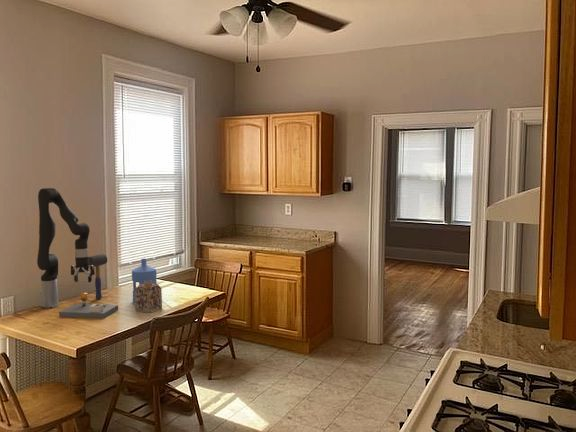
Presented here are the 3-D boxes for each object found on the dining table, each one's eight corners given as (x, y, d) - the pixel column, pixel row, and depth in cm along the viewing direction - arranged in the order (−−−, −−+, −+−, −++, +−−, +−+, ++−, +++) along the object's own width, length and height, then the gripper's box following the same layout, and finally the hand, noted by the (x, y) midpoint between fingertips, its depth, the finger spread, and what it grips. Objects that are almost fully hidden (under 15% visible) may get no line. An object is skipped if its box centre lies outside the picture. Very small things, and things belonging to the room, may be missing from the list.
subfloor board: (59, 316, 298) (58, 311, 298) (75, 308, 316) (75, 303, 315) (103, 318, 294) (103, 313, 294) (118, 309, 312) (118, 305, 312)
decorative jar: (162, 308, 314) (161, 280, 312) (149, 313, 304) (148, 284, 302) (148, 306, 319) (147, 278, 318) (134, 311, 309) (133, 282, 307)
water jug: (154, 296, 343) (153, 256, 340) (159, 302, 329) (158, 260, 326) (131, 299, 336) (129, 258, 334) (134, 305, 322) (133, 262, 320)
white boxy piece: (89, 312, 297) (89, 306, 296) (94, 309, 302) (93, 303, 301) (99, 312, 296) (99, 306, 296) (103, 310, 301) (103, 304, 300)
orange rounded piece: (79, 306, 309) (79, 293, 308) (83, 304, 313) (83, 292, 312) (85, 306, 308) (85, 294, 307) (89, 305, 312) (88, 292, 311)
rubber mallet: (95, 302, 331) (93, 256, 328) (87, 300, 334) (85, 255, 331) (110, 297, 342) (108, 253, 339) (102, 296, 345) (100, 253, 342)
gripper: (67, 256, 305) (68, 283, 306) (89, 257, 303) (90, 283, 304) (74, 254, 312) (75, 280, 314) (95, 254, 310) (97, 280, 312)
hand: (83, 282), depth 309 cm, fingers open, 8 cm apart
